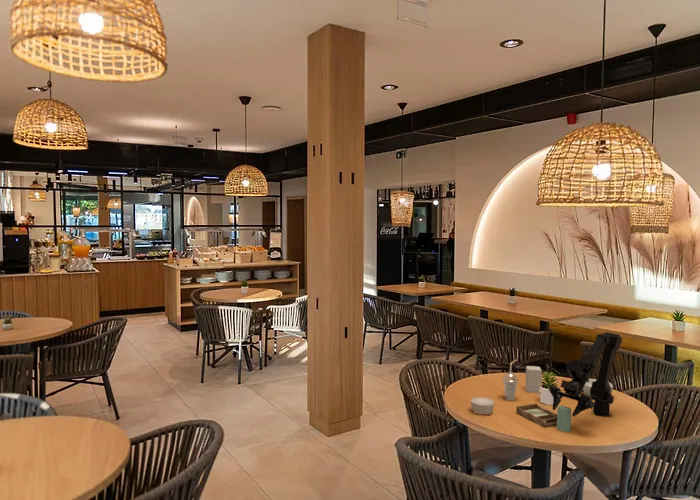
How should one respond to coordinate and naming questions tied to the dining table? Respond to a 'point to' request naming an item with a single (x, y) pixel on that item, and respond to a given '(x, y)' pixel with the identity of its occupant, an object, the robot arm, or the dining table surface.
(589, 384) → the cereal bowl
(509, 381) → the cup with straw
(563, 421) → the block
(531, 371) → the supplement box
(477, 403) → the ramekin
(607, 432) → the dining table surface
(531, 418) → the tray
